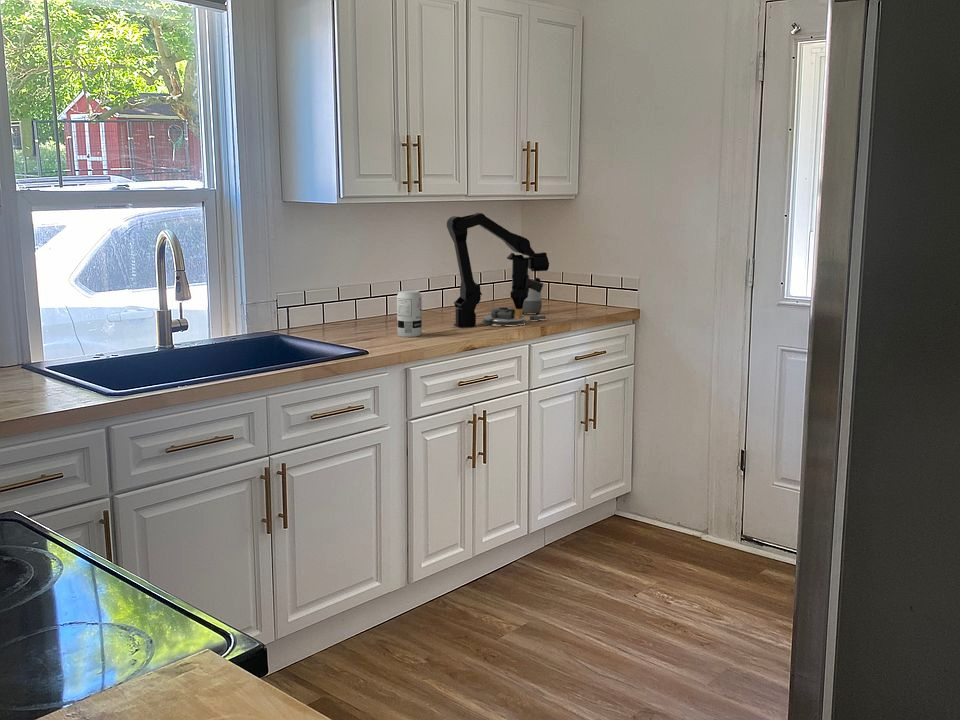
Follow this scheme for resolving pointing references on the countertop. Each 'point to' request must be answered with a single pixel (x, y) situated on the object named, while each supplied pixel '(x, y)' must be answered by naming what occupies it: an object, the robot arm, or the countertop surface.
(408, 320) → the supplement can
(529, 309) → the smart speaker
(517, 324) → the turntable base
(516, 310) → the platter
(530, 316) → the grey bar
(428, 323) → the countertop surface
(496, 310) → the cover
